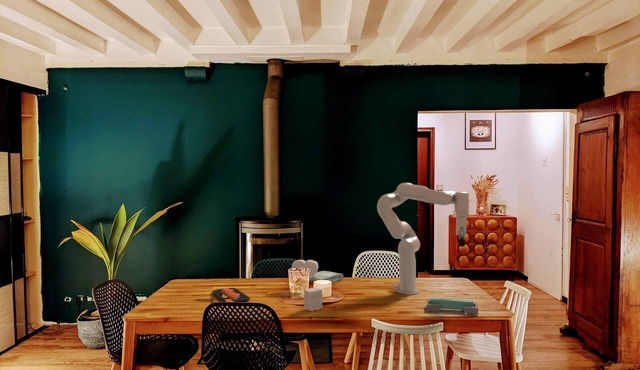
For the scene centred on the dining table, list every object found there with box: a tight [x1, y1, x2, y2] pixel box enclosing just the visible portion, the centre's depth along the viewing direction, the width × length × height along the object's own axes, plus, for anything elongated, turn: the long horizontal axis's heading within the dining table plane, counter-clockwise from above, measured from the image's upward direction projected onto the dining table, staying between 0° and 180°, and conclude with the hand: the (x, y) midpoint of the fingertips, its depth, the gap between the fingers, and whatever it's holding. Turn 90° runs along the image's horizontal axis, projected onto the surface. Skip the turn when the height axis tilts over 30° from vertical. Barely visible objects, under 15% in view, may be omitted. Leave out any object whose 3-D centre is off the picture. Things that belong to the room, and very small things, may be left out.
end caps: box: [425, 299, 479, 315], centre depth 234 cm, size 25×9×4 cm, turn 75°
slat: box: [429, 297, 474, 311], centre depth 234 cm, size 21×3×4 cm, turn 75°
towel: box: [309, 270, 345, 284], centre depth 298 cm, size 18×21×5 cm
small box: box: [303, 287, 323, 311], centre depth 237 cm, size 8×6×10 cm
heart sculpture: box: [291, 259, 319, 279], centre depth 275 cm, size 16×5×18 cm, turn 81°
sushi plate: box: [196, 287, 251, 304], centre depth 258 cm, size 29×30×4 cm
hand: (461, 245), depth 253 cm, fingers open, 9 cm apart
